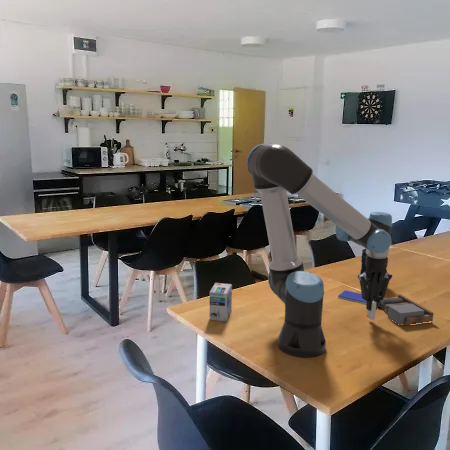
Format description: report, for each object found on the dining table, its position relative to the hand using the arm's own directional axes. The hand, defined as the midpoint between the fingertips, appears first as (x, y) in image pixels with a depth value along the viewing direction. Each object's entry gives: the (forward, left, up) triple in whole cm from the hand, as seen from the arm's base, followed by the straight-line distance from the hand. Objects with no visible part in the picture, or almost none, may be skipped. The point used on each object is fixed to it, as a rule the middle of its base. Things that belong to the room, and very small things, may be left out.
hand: (370, 318), depth 166 cm
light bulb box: (-52, +18, -2) cm, 55 cm away
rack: (+15, +2, -1) cm, 15 cm away
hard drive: (+7, +22, -2) cm, 23 cm away
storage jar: (+24, +37, -2) cm, 45 cm away
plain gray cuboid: (+13, -2, -2) cm, 13 cm away
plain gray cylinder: (+15, +9, -2) cm, 18 cm away
